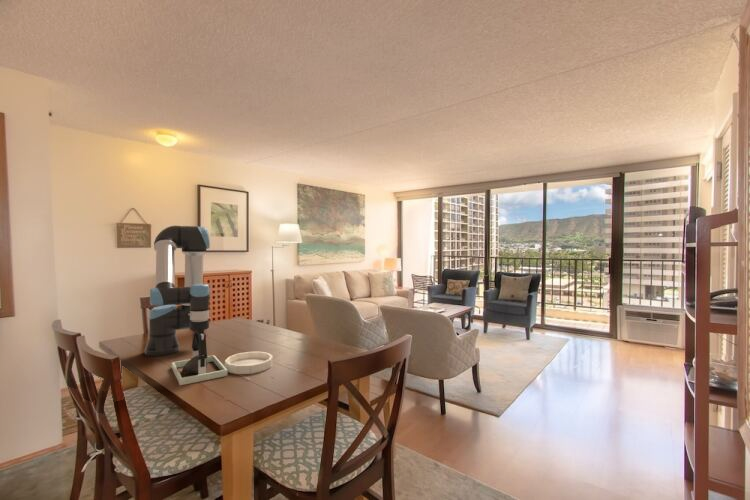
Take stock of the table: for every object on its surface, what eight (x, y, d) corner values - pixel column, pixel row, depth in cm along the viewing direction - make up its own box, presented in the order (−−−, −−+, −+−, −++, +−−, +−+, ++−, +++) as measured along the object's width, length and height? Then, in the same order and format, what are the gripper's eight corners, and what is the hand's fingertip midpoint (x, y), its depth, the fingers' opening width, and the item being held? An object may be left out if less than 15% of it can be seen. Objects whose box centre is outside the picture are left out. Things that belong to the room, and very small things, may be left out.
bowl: (220, 363, 159) (220, 356, 158) (263, 356, 171) (263, 349, 171) (232, 377, 143) (232, 369, 143) (278, 367, 155) (278, 360, 155)
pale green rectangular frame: (171, 367, 153) (171, 362, 152) (214, 360, 163) (214, 355, 163) (179, 385, 134) (180, 378, 134) (227, 375, 144) (227, 369, 144)
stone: (186, 386, 142) (205, 369, 143) (174, 370, 143) (192, 354, 144) (199, 380, 152) (216, 364, 153) (187, 366, 153) (204, 350, 154)
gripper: (185, 316, 156) (184, 363, 156) (195, 326, 136) (194, 380, 137) (203, 314, 160) (202, 360, 160) (215, 324, 141) (214, 376, 141)
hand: (198, 369), depth 148 cm, fingers open, 12 cm apart
